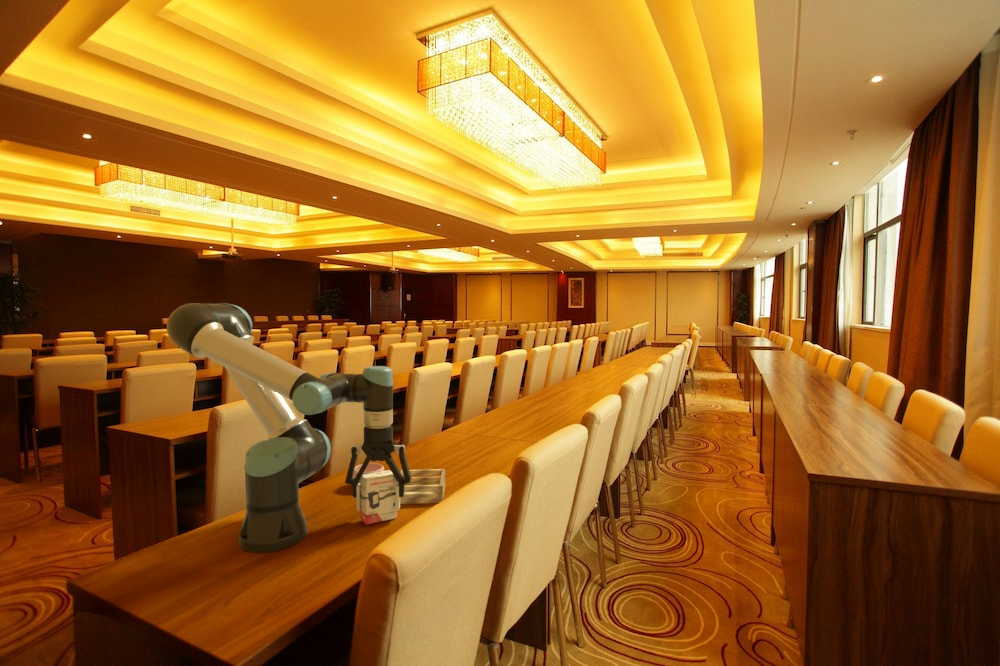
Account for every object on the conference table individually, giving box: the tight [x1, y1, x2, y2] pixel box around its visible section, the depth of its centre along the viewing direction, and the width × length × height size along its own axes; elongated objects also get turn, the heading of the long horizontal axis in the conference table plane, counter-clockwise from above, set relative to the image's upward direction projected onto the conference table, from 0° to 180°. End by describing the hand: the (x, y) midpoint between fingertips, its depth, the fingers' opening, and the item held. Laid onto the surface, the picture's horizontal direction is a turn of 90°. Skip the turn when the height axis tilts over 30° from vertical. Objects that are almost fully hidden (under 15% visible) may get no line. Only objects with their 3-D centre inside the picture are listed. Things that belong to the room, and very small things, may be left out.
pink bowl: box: [352, 462, 385, 484], centre depth 157 cm, size 12×10×6 cm
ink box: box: [360, 470, 398, 526], centre depth 131 cm, size 8×5×12 cm, turn 124°
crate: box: [397, 468, 447, 505], centre depth 149 cm, size 14×15×5 cm
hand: (378, 508), depth 131 cm, fingers closed on ink box, 9 cm apart
